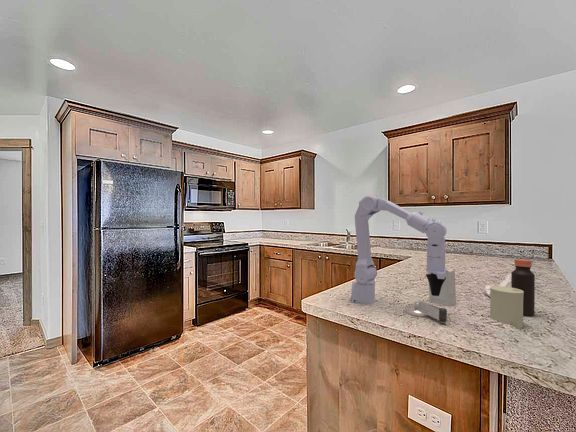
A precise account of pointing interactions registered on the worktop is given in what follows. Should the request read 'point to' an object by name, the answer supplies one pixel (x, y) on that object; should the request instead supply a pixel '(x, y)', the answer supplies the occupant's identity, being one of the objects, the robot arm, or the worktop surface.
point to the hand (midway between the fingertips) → (435, 295)
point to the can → (507, 305)
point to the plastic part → (503, 283)
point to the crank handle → (426, 311)
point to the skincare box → (445, 291)
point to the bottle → (524, 284)
